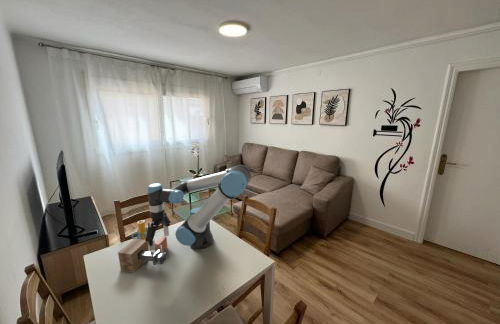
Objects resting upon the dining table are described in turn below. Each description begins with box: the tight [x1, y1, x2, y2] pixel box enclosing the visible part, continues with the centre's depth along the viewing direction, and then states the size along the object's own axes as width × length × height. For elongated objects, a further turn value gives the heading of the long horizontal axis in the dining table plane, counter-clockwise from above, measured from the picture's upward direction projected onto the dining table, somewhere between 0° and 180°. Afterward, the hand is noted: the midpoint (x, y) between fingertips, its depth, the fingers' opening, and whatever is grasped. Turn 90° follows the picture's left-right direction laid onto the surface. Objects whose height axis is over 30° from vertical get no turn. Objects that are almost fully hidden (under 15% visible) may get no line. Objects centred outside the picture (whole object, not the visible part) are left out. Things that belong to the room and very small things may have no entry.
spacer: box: [154, 235, 168, 254], centre depth 122 cm, size 3×8×8 cm, turn 169°
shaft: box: [137, 250, 167, 266], centre depth 109 cm, size 18×5×5 cm, turn 79°
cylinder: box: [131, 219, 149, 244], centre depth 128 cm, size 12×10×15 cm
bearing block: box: [117, 239, 150, 273], centre depth 111 cm, size 8×12×11 cm, turn 169°
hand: (160, 242), depth 121 cm, fingers open, 13 cm apart
